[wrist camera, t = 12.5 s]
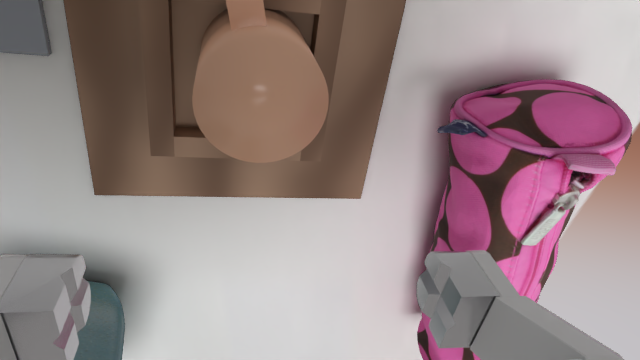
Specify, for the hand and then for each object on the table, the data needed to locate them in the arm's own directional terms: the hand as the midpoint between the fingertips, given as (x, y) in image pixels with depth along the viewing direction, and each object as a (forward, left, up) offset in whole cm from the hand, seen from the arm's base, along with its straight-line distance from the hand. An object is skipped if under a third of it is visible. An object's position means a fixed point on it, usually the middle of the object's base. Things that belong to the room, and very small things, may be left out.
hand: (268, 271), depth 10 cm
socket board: (0, 0, -15) cm, 15 cm away
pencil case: (+16, -9, -15) cm, 24 cm away
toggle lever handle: (0, +1, -15) cm, 15 cm away
